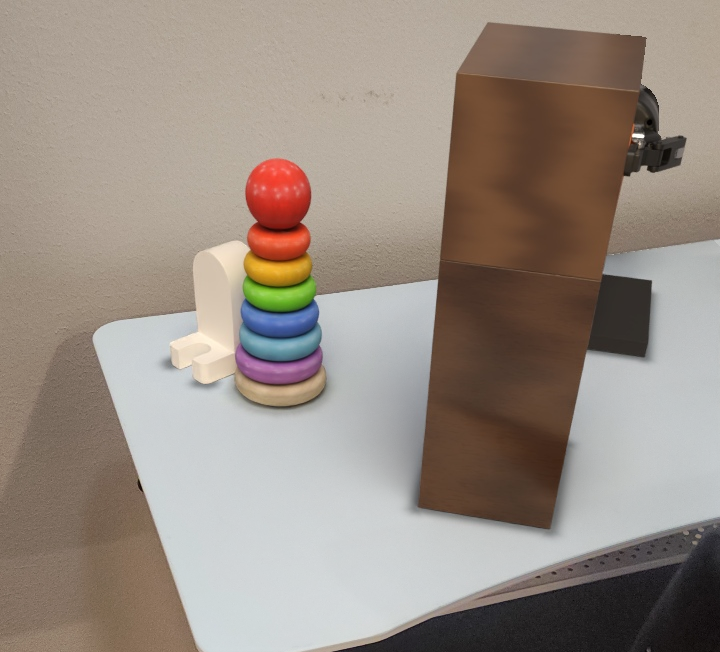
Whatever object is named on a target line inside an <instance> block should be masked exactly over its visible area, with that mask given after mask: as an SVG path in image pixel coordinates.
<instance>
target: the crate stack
mask: <svg viewBox="0 0 720 652" xmlns="http://www.w3.org/2000/svg"><path fill="white" fill-rule="evenodd" d="M646 39H647V38H646V37H642V36H631V35H620V34H616V33H610V32H609V33H607V32H598V31H588V30H587V31H586V30H578V29H565V28H555V27H546V26H545V27H543V26H536V25H535V26H534V25H533V26H532V25H523V24H513V23H502V22H490V21H487V22H486V24H485V26H484V27H483V29H482V30H481V32H480V34H479V36H478V37H477V38H476V40H475V42H474V43H473V45H472V47H471V48H470V50H469V51H468V53H467V55H466V57H465V58H464V60H463V62H462V63H461V64H460V66H459V68H458V70H457V71H456V73H455V83H454V93H453V106H452V117H451V127H450V128H451V129H450V140H449V151H448V162H447V172H446V173H447V174H446V185H445V194H444V196H445V197H444V206H443V207H444V208H443V218H442V230H441V242H440V253H439V265H438V274H437V275H438V276H437V286H436V296H435V297H436V299H435V308H434V309H435V311H434V321H433V333H432V344H431V355H430V365H429V367H430V368H429V376H428V388H427V398H426V399H427V400H426V412H425V422H424V434H423V445H422V456H421V468H420V480H419V490H418V501H417V502H418V503H417V507H418V508H421V509H427V510H433V511H438V512H439V511H440V512H446V513H452V514H458V515H463V516H468V517H476V518H481V519H485V520H486V519H487V520H493V521H499V522H505V523H512V524H516V525H521V526H529V527H535V528H541V529H547V530H550V529H551V527H552V521H553V518H554V517H553V516H554V513H555V507H556V502H557V497H558V493H559V487H560V483H561V480H562V479H561V478H562V473H563V468H564V464H565V459H566V454H567V450H568V449H567V448H568V444H569V441H570V440H569V439H570V436H571V435H570V434H571V431H572V430H571V429H572V425H573V419H574V415H575V411H576V406H577V399H578V395H579V390H580V387H581V386H580V385H581V382H582V381H581V380H582V376H583V371H584V366H585V362H586V356H587V352H588V349H587V347H588V342H589V338H590V333H591V328H592V323H593V318H594V313H595V308H596V303H597V299H598V294H599V289H600V284H601V279H602V274H604V270H605V269H604V268H605V264H606V259H607V253H608V249H609V245H610V239H611V236H612V230H613V225H614V220H615V217H616V212H617V208H616V206H617V207H618V203H617V201H618V202H619V199H618V196H619V197H620V195H619V191H620V187H621V188H622V186H621V182H622V177H623V172H624V167H625V162H626V157H627V152H628V148H629V143H630V138H631V133H632V128H633V123H634V118H635V114H636V109H637V104H638V99H639V94H640V87H641V79H642V73H643V70H644V62H645V61H644V55H645V47H646ZM622 183H623V182H622ZM620 192H621V191H620ZM615 211H616V212H615Z"/></svg>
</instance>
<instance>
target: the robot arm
mask: <svg viewBox="0 0 720 652" xmlns="http://www.w3.org/2000/svg"><path fill="white" fill-rule="evenodd" d="M633 124H635V125H634V131H633V137H632V141H631V144H630V145H629V148H628V152H627V157H626V162H625V167H624V173H623V176H624V177H628V178H630V177H631V175H632V173H640V172H641V169H642V167H646V172H647V171H648V172H649V173H650V174H651V173H652V174H655V173H659V172H664V171H666V170H670V169H672V168H673V169H674V168H676V167H679V166H682V165H681V164H682V160H683V156H684V152H685V148H686V145H687V140H688V138H687V137H685V136H684V135H680V134H679V135H675V136H672V137H671V136H665V138H661V136H660V135H659V134H658V131H659V105H658V102H657V99H656V97H655V95H654V94H653V93H652V91H651V90H650V89H648V88H647V87H646V86H644V85H642V84H641V87H640V94H639V99H638V104H637V109H636V114H635V118H634V123H633Z"/></svg>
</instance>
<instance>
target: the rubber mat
mask: <svg viewBox="0 0 720 652" xmlns="http://www.w3.org/2000/svg"><path fill="white" fill-rule="evenodd" d="M652 291H653V280H652V279H644V278H637V277H629V276H622V275H621V276H620V275H614V274H606V273H603V274H602V279H601V284H600V289H599V294H598V299H597V303H596V308H595V313H594V318H593V323H592V328H591V333H590V338H589V342H588V347H587V350H592V351H597V352H598V351H599V352H607V353H613V354H619V355H620V354H621V355H628V356H633V357H643V358H645V357H646V354H647V350H648V346H649V337H650V323H651V322H650V320H651V304H652Z"/></svg>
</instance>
